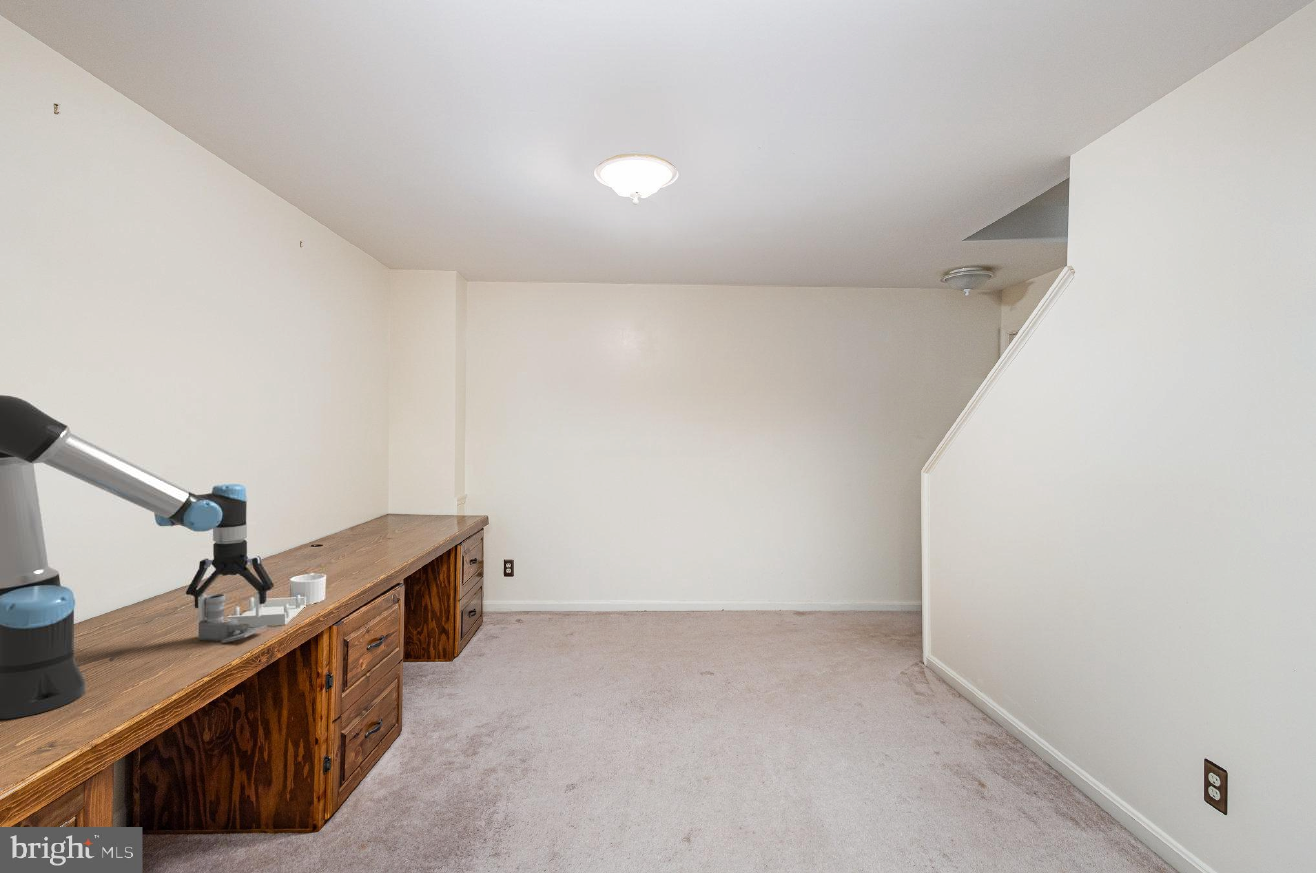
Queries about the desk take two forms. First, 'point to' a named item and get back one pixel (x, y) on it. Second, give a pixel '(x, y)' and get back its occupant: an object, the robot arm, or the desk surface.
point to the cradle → (271, 611)
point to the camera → (222, 623)
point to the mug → (309, 587)
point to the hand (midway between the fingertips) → (231, 617)
